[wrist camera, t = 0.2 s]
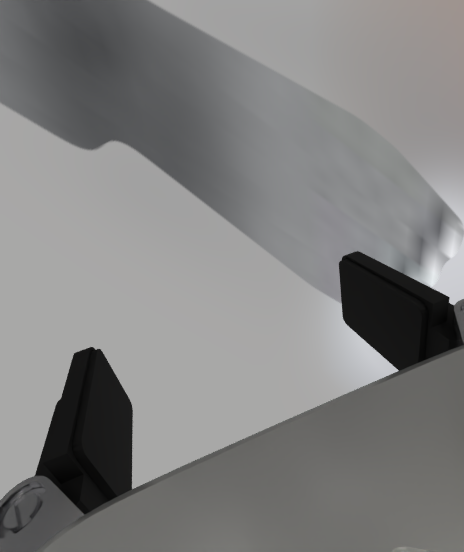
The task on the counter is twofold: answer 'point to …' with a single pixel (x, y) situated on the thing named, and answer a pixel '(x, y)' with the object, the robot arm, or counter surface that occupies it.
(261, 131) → the counter surface
